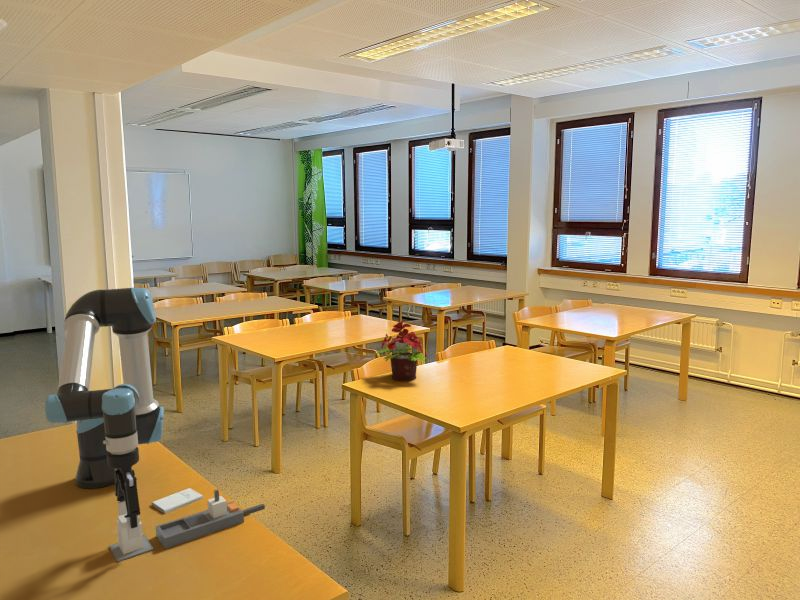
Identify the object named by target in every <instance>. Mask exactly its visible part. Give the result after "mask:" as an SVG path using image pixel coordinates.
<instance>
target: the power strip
mask: <svg viewBox="0 0 800 600" xmlns="http://www.w3.org/2000/svg"><path fill="white" fill-rule="evenodd" d="M213 496H214V497H212V498H209V499H207V509H206V510H203V511H199V512H197V513H193V514H190V515H187V516H184V517H180V518H177V519H174V520H171V521H167V522H164V523H161V524H159V525H158V524H157V525H155V534H156V536H155V537H156V538H157V539H158V541H159V542H160V544H161V545H162V546H163V548H164V549H165V550H166V549H169V548H173V547H175V546H178V545H182V544H184V543H187V542H189V541H192V540H196V539H199V538H201V537H204V536H208V535H210V534H214V533H217V532H219V531H222V530H225V529H228V528H232V527H234V526H237V525H240V524H243V523H244V522H245V516H247V515H251V514H254V513H257V512H259V511H263V510H265V509H266V506H265V504H264V503H260V504H258V505H255V506H252V507H248V508H245V509H243V510H241V508H239V506H238V505H237V504H236V503H235V502H234V501H230V502H228V503H227V500H226V499H225V498H224V497H223V496H222V495H220V490H219V489H214V490H213Z"/></svg>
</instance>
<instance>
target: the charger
mask: <svg viewBox="0 0 800 600" xmlns="http://www.w3.org/2000/svg"><path fill="white" fill-rule="evenodd" d="M125 515H127V514H124V515H121V516H119V515H118V516H117V521H116V529H117V538H118V542H119V547H120V549H121V551H122V552H123V554H126V553H129V552H132V551H135V550H138V549H141V548H144V544H143V523H142V522H141V519H140V516H139V515H138V519H139V530H140V537H137V538H134V539H131V540H129V539H128V530H127V519H126V518H125V517H124V516H125Z"/></svg>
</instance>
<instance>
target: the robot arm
mask: <svg viewBox="0 0 800 600" xmlns="http://www.w3.org/2000/svg"><path fill="white" fill-rule="evenodd" d="M155 309H156V308H155V305H154V299H153V297H152V294H151V291H150V290H149V289H148V288H145V287H133V286H132V287H124V288H111V289H110V288H109V289H95V290H91V291H88V292H86V293H84V294H83V295H81V296H79V298H78V299H76V301H74V302H73V304H72V305H71V306H70V308H69V309H68V311H67V313H66V315H65V317H64V324H63V328H64V331H65V332H66V334H65V340H64V347H63V354H62V360H61V366H60V372H59V378H58V379H59V380H58V385H57V392H56V393H54V394H49V395H47V397H46V398H45V400H44V402H45V403H44V413H45V414H44V415H45V418H46V421H48V422H49V423H50V424H58V423H59V424H60V423H61V424H63V423H69V422H75V421H76V430H75V431H76V432H75V433H76V437H77V445H78V446H77V447H78V455H79V462H78V467H77V470H76V474H75V484H76V486H77V487H79V488H82V489H98V488H104V487H108V486H111V485H112V486H113V485H114V490H115V492H114V494H115V497H116V501H117V509H118V516H121V515H124V514H127V515H125V516H124V517H125V518H126V519H127V530H128V539H129V540H131V539H134V538H137V537H140V530H139V519H138V516H139V515H141V510H140V502H139V501H140V500H139V495H138V494H139V493H138V486H137V480H138V479H137V477H136V476H135V475H136V474H135V470H134V469H133V466H134V465H136V464H138V463H139V461H140V452H139V446H138V445H145V444H146V445H149V444H152V443H157V442H160V441H161V439H162V438H163V427H164V425H163V424H164V415H165V413H164V411H165V407H164V406H160V404H159V401H158V400H156V399H155V398H154V392H153V381H152V380H153V379H152V370H151V369H152V367H151V361H150V360H151V359H150V348H149V338H148V333H149V332H150V331H151V330H152V328H153V327H152V325H153V324H155V323H156V321H157V316H156V310H155ZM102 327H103V328H104V327H111V330H112V331H111V332H112V334H114V335H116V336H117V338H118V346H119V353H120V354H119V355H120V364H121V373H122V382H123V383H121V384H118V385H116V386H115V387H114V388H105V389H95V390H90V384H91V383H90V382H91V373H92V364H93V355H94V347H95V338H96V337H95V336H96V335H97V333H98V332H99V330H100V328H102Z"/></svg>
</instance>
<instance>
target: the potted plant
mask: <svg viewBox="0 0 800 600" xmlns="http://www.w3.org/2000/svg"><path fill="white" fill-rule="evenodd" d="M392 327H393V328H392V329H391V332H393V333H398V334H397V335H396V336H395V338H393V337H392V336H391V335H390V336H389V335H388V333H387V332H386V334H385V337H384V339H383V341H381V348H382V350H377V351H376V352H374V353H373V355H375V356H376V355H379V356H381V355H382V354H383V355H385V354H386V353H387V355H386V356H385V357H384V359H383V360H385V362H387V361H388V360H389V359H390V366H391V379H392V380H393V381H395V382H411V381H415V380H416V379H417V366H418V362H419V363H420V362H422V363H423V364H427V363H426V361H425V360H426V359H428V358H427V357H425V355H424V354H423V344H422V342H421V340H420V339H419V337H418V336H417V335H416V334H415V332H414V331H410V332H409V329H408V328H410V327H412V325H411V324H410V323H404V321H398V322H397V323H396V324H393V326H392ZM392 338H393V339H392ZM397 342H398V343H400V344H403V345H404V346H403V348H398V347H397V345H396V343H397ZM385 344H386V348H384V345H385ZM383 348H384V349H383ZM394 349H395V351H394V352H393V350H394ZM416 349H417V350H418V351H419V352H418V351H415V350H416ZM420 351H421V352H420ZM391 353H393V354H391Z"/></svg>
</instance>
